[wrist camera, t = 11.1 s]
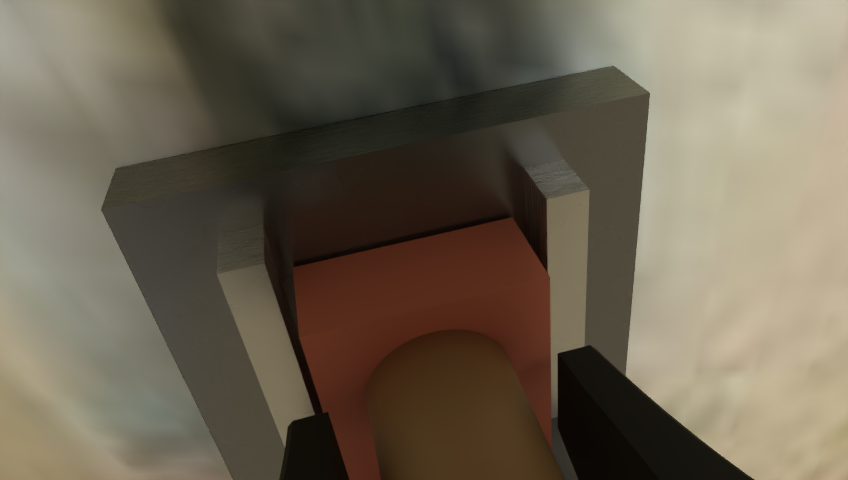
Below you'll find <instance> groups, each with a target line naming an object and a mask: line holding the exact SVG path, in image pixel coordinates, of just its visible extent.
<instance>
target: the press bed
mask: <svg viewBox="0 0 848 480" xmlns="http://www.w3.org/2000/svg"><path fill="white" fill-rule="evenodd" d="M649 97H650V93H649V92H648V91H647V90H645V89H644V88H643V87H641V86H640V85H638V84H637V83H636V82H634V81H633V80H632V79H630V78H629V77H628V76H626V75H625V74H624V73H622V72H621V71H620V70H618V69H617V68H616V67H614V66H611V67H606V68H601V69H596V70H592V71H587V72H582V73H577V74H572V75H567V76H563V77H558V78H553V79H548V80H543V81H538V82H533V83H529V84H524V85H519V86H514V87H509V88H504V89H500V90H495V91H490V92H485V93H480V94H475V95H470V96H466V97H461V98H456V99H451V100H446V101H441V102H436V103H432V104H427V105H422V106H417V107H412V108H407V109H403V110H398V111H393V112H388V113H383V114H378V115H373V116H369V117H364V118H359V119H354V120H349V121H344V122H340V123H335V124H330V125H325V126H320V127H315V128H310V129H306V130H301V131H296V132H291V133H286V134H281V135H276V136H272V137H267V138H262V139H257V140H252V141H247V142H243V143H238V144H233V145H228V146H223V147H218V148H213V149H209V150H204V151H199V152H194V153H189V154H184V155H180V156H175V157H170V158H165V159H160V160H155V161H150V162H146V163H141V164H136V165H131V166H126V167H121V168H116V169H115V172H114V175H113V178H112V180H111V183H110V186H109V189H108V192H107V194H106V197H105V200H104V203H103V206H102V209H101V210H102V212H103V214H104V216H105V218H106V221H107V223H108V225H109V227H110V229H111V231H112V233H113V235H114V237H115V239H116V241H117V243H118V245H119V247H120V249H121V251H122V253H123V255H124V257H125V259H126V261H127V263H128V265H129V267H130V270H131V272H132V274H133V276H134V278H135V280H136V282H137V284H138V286H139V288H140V290H141V292H142V294H143V296H144V298H145V300H146V302H147V304H148V306H149V308H150V310H151V312H152V314H153V317H154V319H155V321H156V323H157V325H158V327H159V329H160V331H161V333H162V335H163V337H164V339H165V341H166V343H167V345H168V347H169V349H170V351H171V353H172V355H173V357H174V359H175V361H176V363H177V366H178V368H179V370H180V372H181V374H182V376H183V378H184V380H185V382H186V384H187V386H188V388H189V390H190V392H191V394H192V396H193V398H194V400H195V402H196V404H197V406H198V408H199V410H200V413H201V415H202V417H203V419H204V421H205V423H206V425H207V427H208V429H209V431H210V433H211V435H212V437H213V439H214V441H215V443H216V445H217V447H218V449H219V451H220V453H221V455H222V457H223V459H224V462H225V464H226V466H227V468H228V470H229V472H230V474H231V476H232V478H233V480H279V478H280V473H281V468H282V463H283V457H284V451H285V445H286V437H287V428H288V426H289V425H290V423H291V422H292V421H293V420H297V419H301V418H305V417H309V416H313V415H317V414H321V413H323V410H322V407H321V404H320V401H319V398H318V395H317V392H316V388H315V385H314V382H313V379H312V376H311V373H310V370H309V367H308V364H307V361H306V357H305V354H304V351H303V348H302V345H301V342H300V339H299V330H298V319H297V309H296V298H295V287H294V276H293V267H297V266H301V265H306V264H310V263H315V262H319V261H323V260H328V259H332V258H336V257H341V256H345V255H350V254H354V253H358V252H363V251H367V250H371V249H376V248H380V247H384V246H389V245H393V244H398V243H402V242H406V241H411V240H415V239H419V238H424V237H428V236H433V235H437V234H441V233H446V232H450V231H454V230H459V229H463V228H468V227H472V226H476V225H481V224H485V223H489V222H494V221H498V220H502V219H507V218H511V217H513V219H514V220H515V222H516V223H517V225H518V227H519V228H520V230H521V232H522V233H523V235H524V236H525V238H526V240H527V241H528V243H529V244H530V246H531V248H532V249H533V251H534V252H535V254H536V256H537V257H538V259H539V260H540V262H541V264H542V265H543V267H544V268H545V270H546V272H547V273H548V275H549V276H550V323H551V418H555V417H558V353H561V352H565V351H569V350H573V349H576V348H580V347H584V346H588V345H591V346H592V347H594V348H596V349H597V350H598V351H599V352H600V353H601V354H602V355H603V356H604V357H605V358H606V359H607V360H608V361H609V362H611V363H612V364H613V365H614V366H615V367H616V368H617V369H618V370H619V371H620V372H621V373H622V374H624V375H625V373H626V362H627V350H628V339H629V327H630V316H631V304H632V293H633V281H634V270H635V258H636V247H637V235H638V224H639V212H640V201H641V189H642V178H643V166H644V155H645V143H646V132H647V120H648V109H649Z"/></svg>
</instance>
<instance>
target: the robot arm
mask: <svg viewBox="0 0 848 480" xmlns="http://www.w3.org/2000/svg"><path fill="white" fill-rule="evenodd" d="M558 430H559V432H560V435H561V437H562V440H563V443H564V445H565V448H566V450H567V453H568V455H569V458H570V460H571V463H572V465H573V468H574V470H575V473H576V475H577V477H578V480H754V479H752V478H751V477H750V476H748V475H747V474H745V473H744V472H743V471H741V470H740V469H739V468H737V467H736V466H735V465H733V464H732V463H730V462H729V461H728V460H726V459H725V458H724V457H722V456H721V455H720V454H718V453H717V452H716V451H714V450H713V449H712V448H711V447H709V446H708V445H707V444H705V443H704V442H703V441H702V440H700V439H699V438H698V437H696V436H695V435H694V434H693V433H692V432H690V431H689V430H688V429H687V428H685V427H684V426H683V425H682V424H681V423H679V422H678V421H677V420H676V419H674V418H673V417H672V416H671V415H669V414H668V413H667V412H666V411H665V410H663V409H662V408H661V407H660V406H659V405H658V404H656V403H655V402H654V401H653V400H652V399H651V398H649V397H648V396H647V395H646V394H645V393H644V392H643V391H642V390H640V389H639V388H638V387H637V386H636V385H635V384H634V383H632V382H631V381H630V380H629V379H628V378H627V377H626V376H625V375H624V374H622V373H621V372H620V371H619V370H618V369H617V368H616V367H615V366H614V365H613V364H612V363H611V362H609V361H608V360H607V359H606V358H605V357H604V356H603V355H602V354H601V353H600V352H599V351H598V350H597V349H596V348H594V347H592V346H591V345H588V346H584V347H580V348H576V349H573V350H569V351H565V352H561V353H558ZM279 480H349V477H348V474H347V471H346V467H345V464H344V461H343V458H342V455H341V452H340V448H339V445H338V442H337V439H336V436H335V432H334V429H333V426H332V423H331V420H330V417H329V413H328V412H325V413H321V414H317V415H313V416H309V417H305V418H301V419H297V420H293V421H292V422H291V423H290V425H289V426H288V428H287V437H286V445H285V451H284V457H283V463H282V468H281V473H280V478H279Z"/></svg>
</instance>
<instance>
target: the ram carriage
mask: <svg viewBox="0 0 848 480" xmlns="http://www.w3.org/2000/svg"><path fill="white" fill-rule="evenodd" d="M293 276H294V287H295V298H296V309H297V319H298V330H299V339H300V342H301V345H302V348H303V351H304V354H305V357H306V361H307V364H308V367H309V370H310V373H311V376H312V379H313V382H314V385H315V388H316V392H317V395H318V398H319V401H320V404H321V407H322V410H323V413H325V412H328V413H329V417H330V420H331V423H332V426H333V429H334V432H335V436H336V439H337V442H338V445H339V448H340V452H341V455H342V458H343V461H344V464H345V467H346V471H347V474H348V477H349V480H578V477H577V475H576V473H575V470H574V468H573V465H572V463H571V460H570V458H569V455H568V453H567V450H566V448H565V445H564V443H563V440H562V437H561V435H560V432H559V430H558V417H555V418H551V323H550V276H549V275H548V273H547V272H546V270H545V268H544V267H543V265H542V264H541V262H540V260H539V259H538V257H537V256H536V254H535V252H534V251H533V249H532V248H531V246H530V244H529V243H528V241H527V240H526V238H525V236H524V235H523V233H522V232H521V230H520V228H519V227H518V225H517V223H516V222H515V220H514V219H513V217H511V218H507V219H502V220H498V221H494V222H489V223H485V224H481V225H476V226H472V227H468V228H463V229H459V230H454V231H450V232H446V233H441V234H437V235H433V236H428V237H424V238H419V239H415V240H411V241H406V242H402V243H398V244H393V245H389V246H384V247H380V248H376V249H371V250H367V251H363V252H358V253H354V254H350V255H345V256H341V257H336V258H332V259H328V260H323V261H319V262H315V263H310V264H306V265H301V266H297V267H293Z"/></svg>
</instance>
